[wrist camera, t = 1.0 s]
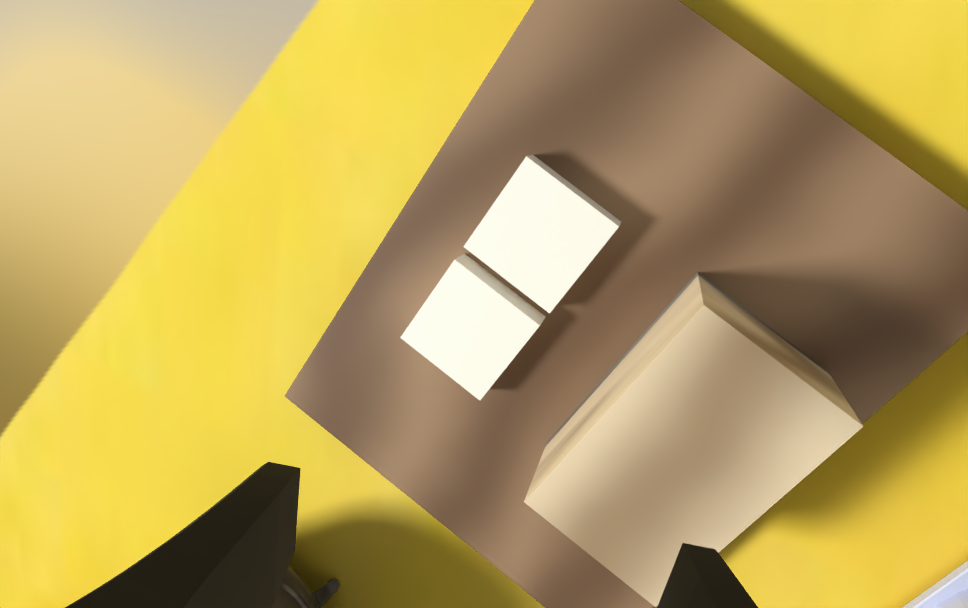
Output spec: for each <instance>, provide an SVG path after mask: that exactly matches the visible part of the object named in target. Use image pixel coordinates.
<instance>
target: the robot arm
mask: <svg viewBox="0 0 968 608" xmlns="http://www.w3.org/2000/svg"><path fill="white" fill-rule="evenodd" d="M299 480H300V468H297V467H292V466H286V465H281V464H276V463H271V462H267V463H266V464H264V465H263V466H261V467H260V468H259V469H258V470H256V471H255V472H254V473H253V474H252V475H250V476H249V477H248V478H247V479H246V480H244V481H243V482H242V483H241V484H240V485H238V486H237V487H236V488H235V489H234V490H232V491H231V492H230V493H229V494H228V495H226V496H225V497H224V498H223V499H221V500H220V501H219V502H218V503H216V504H215V505H214V506H213V507H211V508H210V509H209V510H208V511H206V512H205V513H204V514H202V515H201V516H200V517H198V518H197V519H196V520H195V521H193V522H192V523H191V524H189V525H188V526H187V527H185V528H184V529H183V530H181V531H180V532H179V533H178V534H176V535H175V536H174V537H172V538H171V539H169V540H168V541H167V542H165V543H164V544H162V545H161V546H160V547H158V548H157V549H155V550H154V551H152V552H151V553H149V554H148V555H147V556H145V557H144V558H142V559H141V560H139V561H138V562H137V563H135V564H134V565H132V566H131V567H129V568H128V569H126V570H125V571H123V572H122V573H120V574H119V575H117V576H116V577H114V578H113V579H111V580H110V581H108V582H106V583H105V584H103V585H102V586H100V587H99V588H97V589H95V590H94V591H92V592H91V593H89V594H87V595H86V596H84V597H82V598H80V599H79V600H77V601H75V602H74V603H72V604H70V605H69V606H67V607H65V608H272V607H273V605H274V603H275V600H276V598H277V595H278V593H279V590H280V588H281V585H282V583H283V580H284V578H285V575H286V572H287V570H288V567H289V564H290V562H291V559H292V557H293V554H294V551H295V539H296V524H297V510H298V495H299ZM657 608H758V607H757V606H756V604H755V603H754V601H753V600H752V599H751V597H750V596H749V595H748V593H747V592H746V590H745V589H744V588H743V586H742V585H741V584H740V582H739V581H738V579H737V578H736V577H735V575H734V574H733V572H732V571H731V570H730V568H729V567H728V566H727V564H726V563H725V561H724V560H723V559H722V557H721V556H720V555H719V553H718V552H717V551H716V550H715V549H712V548H707V547H702V546H696V545H691V544H686V543H682V546H681V548H680V551H679V553H678V556H677V558H676V561H675V563H674V566H673V568H672V571H671V573H670V576H669V579H668V581H667V584H666V586H665V589H664V591H663V594H662V596H661V599H660V601H659V604H658V606H657ZM902 608H968V561H967V562H965V563H964V564H962V565H961V566H960V567H958V568H957V569H955V570H954V571H953V572H951V573H950V574H948V575H947V576H946V577H944V578H943V579H941V580H940V581H939V582H937V583H936V584H934V585H933V586H932V587H930V588H929V589H927V590H926V591H925V592H923V593H922V594H920V595H919V596H918V597H916V598H915V599H913V600H912V601H911V602H909V603H908V604H906V605H905V606H904V607H902Z"/></svg>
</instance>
